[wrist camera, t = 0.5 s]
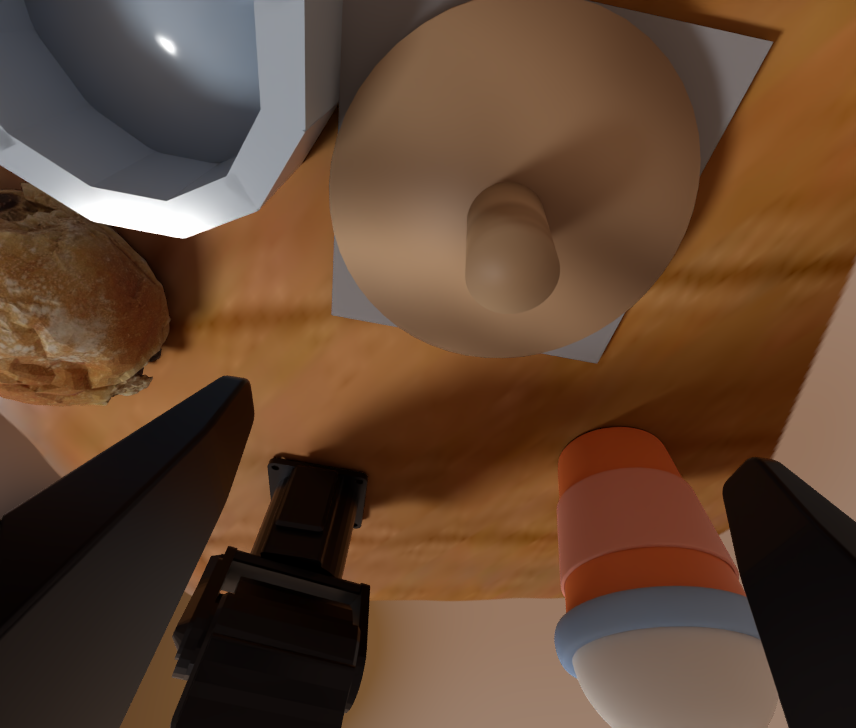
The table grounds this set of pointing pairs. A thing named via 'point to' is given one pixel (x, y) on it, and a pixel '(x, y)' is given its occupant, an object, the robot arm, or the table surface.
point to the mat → (680, 41)
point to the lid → (514, 175)
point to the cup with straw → (652, 594)
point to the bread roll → (72, 306)
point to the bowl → (165, 103)
